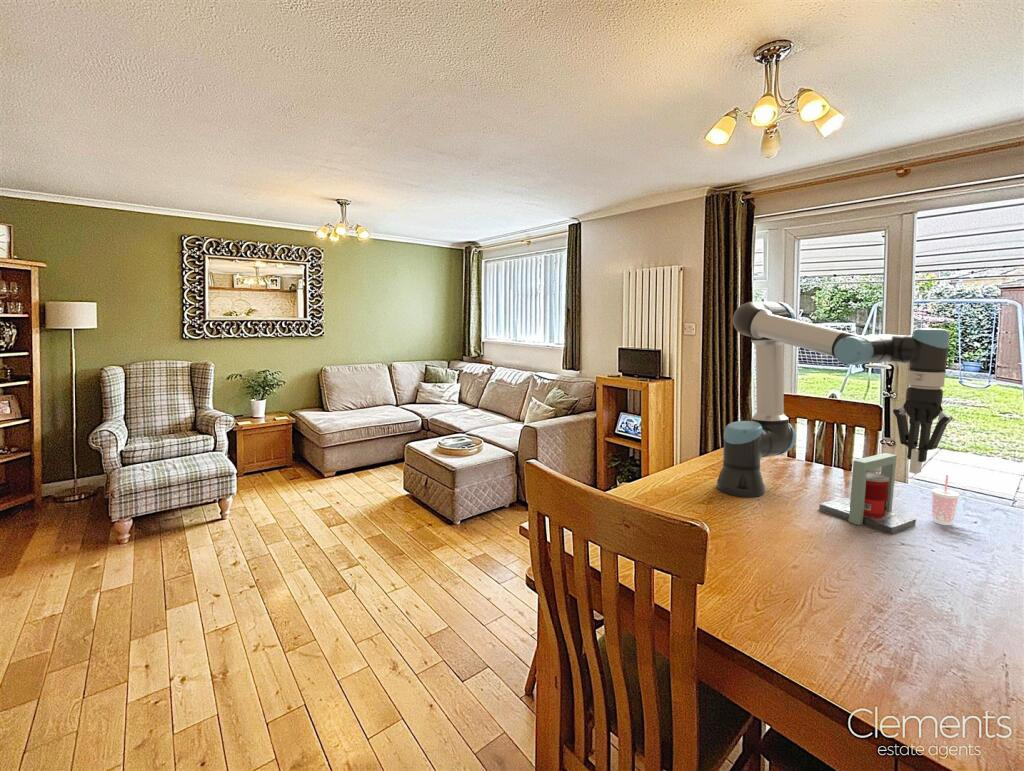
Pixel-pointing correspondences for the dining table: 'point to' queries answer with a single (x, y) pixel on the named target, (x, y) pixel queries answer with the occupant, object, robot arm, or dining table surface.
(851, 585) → the dining table surface
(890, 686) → the dining table surface
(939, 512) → the beverage cup
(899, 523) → the plate
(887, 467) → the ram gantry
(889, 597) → the dining table surface
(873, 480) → the canned food
